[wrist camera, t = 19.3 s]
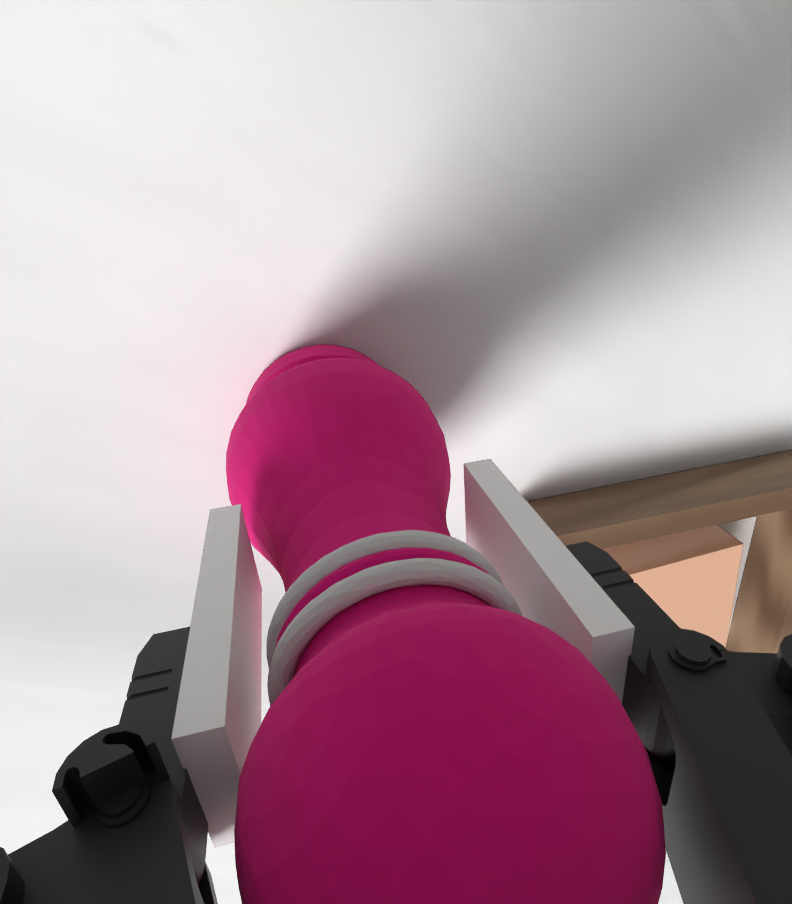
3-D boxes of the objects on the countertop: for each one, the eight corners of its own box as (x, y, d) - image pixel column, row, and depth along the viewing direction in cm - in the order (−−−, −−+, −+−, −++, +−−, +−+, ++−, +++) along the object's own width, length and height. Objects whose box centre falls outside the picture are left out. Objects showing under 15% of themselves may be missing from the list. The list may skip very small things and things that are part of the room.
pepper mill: (352, 522, 24) (609, 1369, 7) (197, 454, 22) (-61, 1631, 4) (443, 387, 23) (1101, 1045, 5) (289, 293, 20) (573, 1071, 2)
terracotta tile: (543, 553, 28) (571, 590, 26) (700, 512, 29) (743, 543, 27) (546, 676, 32) (571, 719, 30) (684, 635, 33) (720, 673, 31)
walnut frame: (503, 506, 26) (530, 541, 23) (792, 449, 28) (847, 475, 26) (503, 738, 33) (524, 785, 30) (733, 677, 36) (771, 716, 33)
